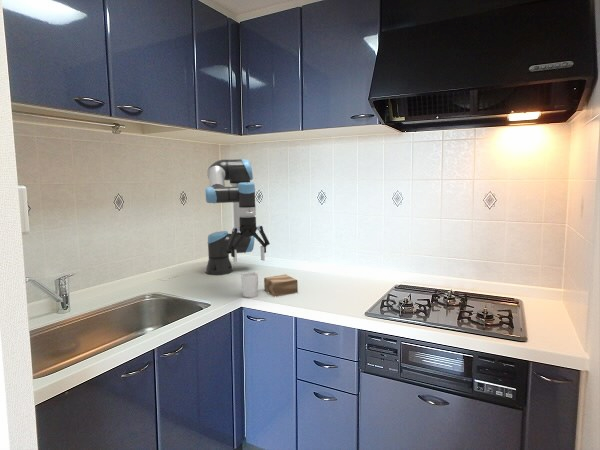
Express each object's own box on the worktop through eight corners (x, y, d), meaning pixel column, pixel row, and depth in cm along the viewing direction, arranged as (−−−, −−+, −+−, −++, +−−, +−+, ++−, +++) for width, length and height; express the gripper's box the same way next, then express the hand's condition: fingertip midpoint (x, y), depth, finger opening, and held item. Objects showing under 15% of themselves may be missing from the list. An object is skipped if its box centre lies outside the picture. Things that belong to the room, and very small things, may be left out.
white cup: (250, 291, 187) (250, 271, 186) (262, 294, 182) (261, 274, 180) (238, 295, 181) (237, 275, 180) (249, 299, 176) (248, 277, 175)
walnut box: (264, 290, 189) (264, 277, 188) (286, 286, 195) (286, 274, 194) (274, 296, 179) (274, 283, 178) (297, 292, 184) (297, 279, 184)
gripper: (223, 219, 167) (225, 266, 170) (275, 215, 179) (277, 260, 182) (218, 217, 174) (220, 263, 176) (269, 213, 186) (270, 257, 188)
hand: (249, 262), depth 179 cm, fingers open, 13 cm apart
